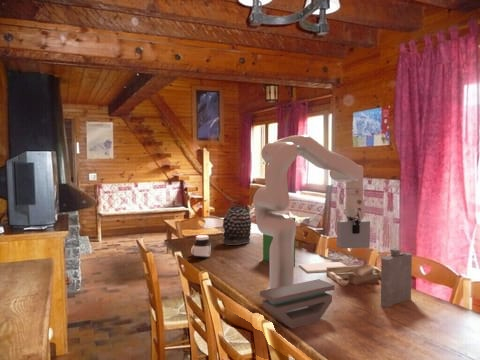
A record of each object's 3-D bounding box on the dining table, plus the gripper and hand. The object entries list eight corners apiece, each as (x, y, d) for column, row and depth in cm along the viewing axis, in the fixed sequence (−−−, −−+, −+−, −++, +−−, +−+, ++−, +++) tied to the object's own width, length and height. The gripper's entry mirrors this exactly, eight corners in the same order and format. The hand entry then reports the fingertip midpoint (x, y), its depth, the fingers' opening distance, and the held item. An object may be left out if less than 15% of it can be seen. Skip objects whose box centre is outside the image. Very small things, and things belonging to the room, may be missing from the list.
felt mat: (351, 270, 189) (351, 268, 189) (307, 272, 185) (307, 270, 185) (340, 263, 201) (340, 261, 201) (299, 266, 197) (299, 264, 197)
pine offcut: (372, 272, 172) (372, 265, 172) (361, 276, 166) (361, 269, 166) (364, 270, 175) (364, 264, 175) (353, 274, 169) (353, 267, 169)
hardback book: (295, 265, 198) (295, 218, 197) (283, 267, 195) (283, 219, 193) (274, 257, 214) (274, 213, 212) (263, 259, 210) (263, 214, 209)
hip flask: (386, 308, 141) (387, 253, 140) (376, 304, 144) (377, 250, 143) (412, 299, 150) (413, 247, 149) (403, 296, 153) (404, 245, 152)
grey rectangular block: (369, 247, 178) (370, 221, 178) (340, 248, 176) (341, 221, 175) (365, 245, 182) (365, 220, 182) (336, 246, 180) (337, 220, 179)
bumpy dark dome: (241, 239, 263) (241, 202, 262) (257, 242, 252) (257, 203, 251) (217, 243, 249) (216, 204, 248) (232, 247, 238) (232, 206, 237)
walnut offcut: (378, 283, 171) (378, 273, 171) (355, 286, 167) (355, 276, 166) (370, 279, 176) (370, 270, 175) (348, 282, 171) (348, 273, 171)
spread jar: (205, 260, 209) (204, 238, 209) (185, 258, 213) (185, 237, 212) (213, 254, 221) (213, 234, 220) (195, 253, 224) (195, 233, 224)
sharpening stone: (273, 333, 121) (273, 298, 121) (259, 324, 128) (259, 291, 127) (334, 316, 134) (334, 285, 133) (318, 309, 141) (318, 279, 140)
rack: (391, 282, 170) (391, 274, 170) (342, 286, 166) (342, 277, 166) (371, 271, 186) (371, 264, 186) (326, 274, 182) (326, 267, 182)
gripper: (371, 193, 171) (370, 235, 171) (353, 190, 187) (352, 229, 188) (355, 193, 169) (354, 236, 170) (338, 191, 186) (337, 229, 186)
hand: (353, 232), depth 179 cm, fingers closed on grey rectangular block, 4 cm apart
